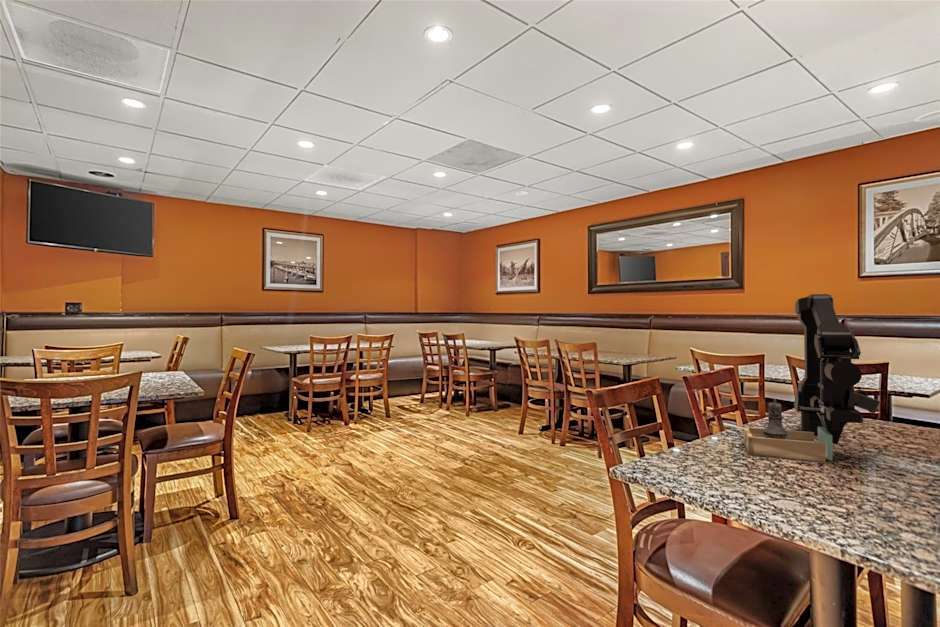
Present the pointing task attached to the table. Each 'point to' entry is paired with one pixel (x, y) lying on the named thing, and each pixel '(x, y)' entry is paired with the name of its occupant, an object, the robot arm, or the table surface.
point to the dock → (784, 445)
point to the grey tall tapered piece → (775, 422)
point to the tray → (824, 441)
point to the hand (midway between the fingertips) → (834, 443)
